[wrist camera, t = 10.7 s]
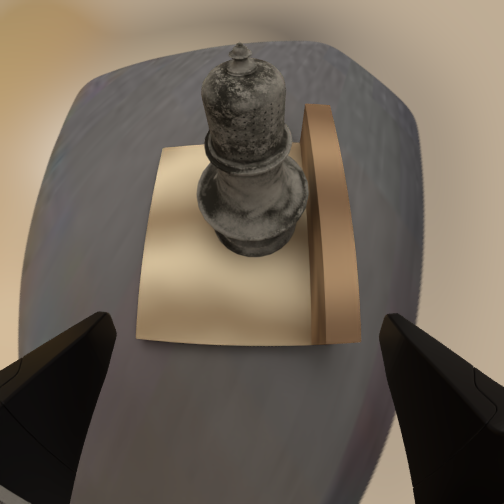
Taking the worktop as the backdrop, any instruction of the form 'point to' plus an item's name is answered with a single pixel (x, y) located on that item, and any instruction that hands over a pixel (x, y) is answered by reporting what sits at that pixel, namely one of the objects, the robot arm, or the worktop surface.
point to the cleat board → (252, 259)
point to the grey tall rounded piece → (249, 158)
